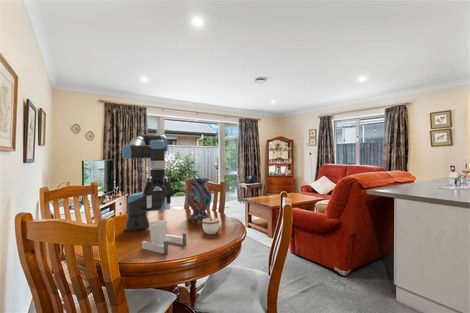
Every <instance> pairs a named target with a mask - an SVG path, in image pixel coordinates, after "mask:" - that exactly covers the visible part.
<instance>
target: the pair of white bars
mask: <svg viewBox="0 0 470 313" xmlns="http://www.w3.org/2000/svg"><path fill="white" fill-rule="evenodd" d="M169 243H171V244H177V245H182V246H187V232H182V236H179V235H174V234H168V233H167V234H166V241H164V245H161V244H156V243H152V241H147V240H143V241H141V248H143V250H146V249H147V251H150V250H151V252H155V253H158V254H162V253H163V254H162V255H168V254H169Z"/></svg>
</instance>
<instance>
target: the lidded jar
mask: <svg viewBox="0 0 470 313" xmlns="http://www.w3.org/2000/svg"><path fill="white" fill-rule="evenodd" d="M201 223H202V224H201V225H202V230H203V231H204V232H205V234H207V235H214V234H215V235H216V233H217V232H218V230H219V228H220V218H217V217H211V216H210V217H209V218H207V219H201Z"/></svg>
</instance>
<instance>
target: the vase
mask: <svg viewBox="0 0 470 313" xmlns="http://www.w3.org/2000/svg"><path fill="white" fill-rule="evenodd" d="M210 180H211V179H210V178H208V177H197V178H196V177H195V178H188V182H189V183H190V184H191V188H190V190H189V192H188V194H187V203H188V206H190V208H191V209H192V210H193V213H192V214H191V215H189V217H188V219H190V220H196V221H197V220H203V219H207V218H210V217H211V215H210V214H209V213H207V212H206V210H207V209H208V207H210V205H211V202H212V193H211V192H210V190H209V187H208V182H209V181H210Z"/></svg>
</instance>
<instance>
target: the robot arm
mask: <svg viewBox="0 0 470 313" xmlns="http://www.w3.org/2000/svg"><path fill="white" fill-rule="evenodd" d="M168 151H169V147H168V138H167V136H166V135H164V134H141V135H140V134H139V135H136V136H134V137H133V138H132V139H131V140H130V142H129V144H124V145H122V147H121V156H122V159H125V160H126V159H127V160H130V159H134V160H136V159H149V169H150V170H149V176H150V177H147V178H146V183H145V186H144V190H143V192H142V191H140V192H136V193H132V194H129V195H128V196H127V220H126V222H125V226H124V229H125V231H127V232H137V231H143V230H146V229H149V228H150V222H149V219H148V216H147V213H148V212H157V211H160V212H161V211H169V210H171V202H172V201H171V198H172V197H173V196H174V195H175V194H174V191H173V189H172V186H171V183H170V179H169V178H168V177H165V176H166V170H165V168H166V164H165V163H166V162H165V161H166V160H165V155H166V153H167V152H168Z"/></svg>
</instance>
